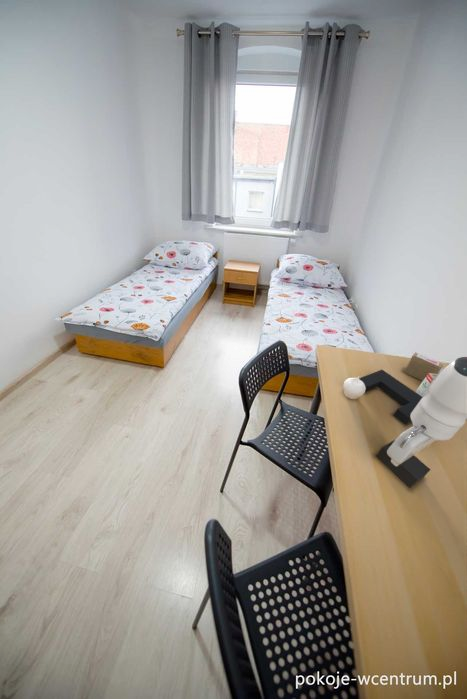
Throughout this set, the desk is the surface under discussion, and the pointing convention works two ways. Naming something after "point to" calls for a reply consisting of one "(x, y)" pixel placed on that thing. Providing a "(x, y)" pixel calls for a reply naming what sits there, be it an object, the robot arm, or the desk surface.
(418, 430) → the robot arm
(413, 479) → the small pad
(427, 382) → the ink box
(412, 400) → the big pad
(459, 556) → the desk surface
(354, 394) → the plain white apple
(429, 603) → the desk surface
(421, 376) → the ink box
